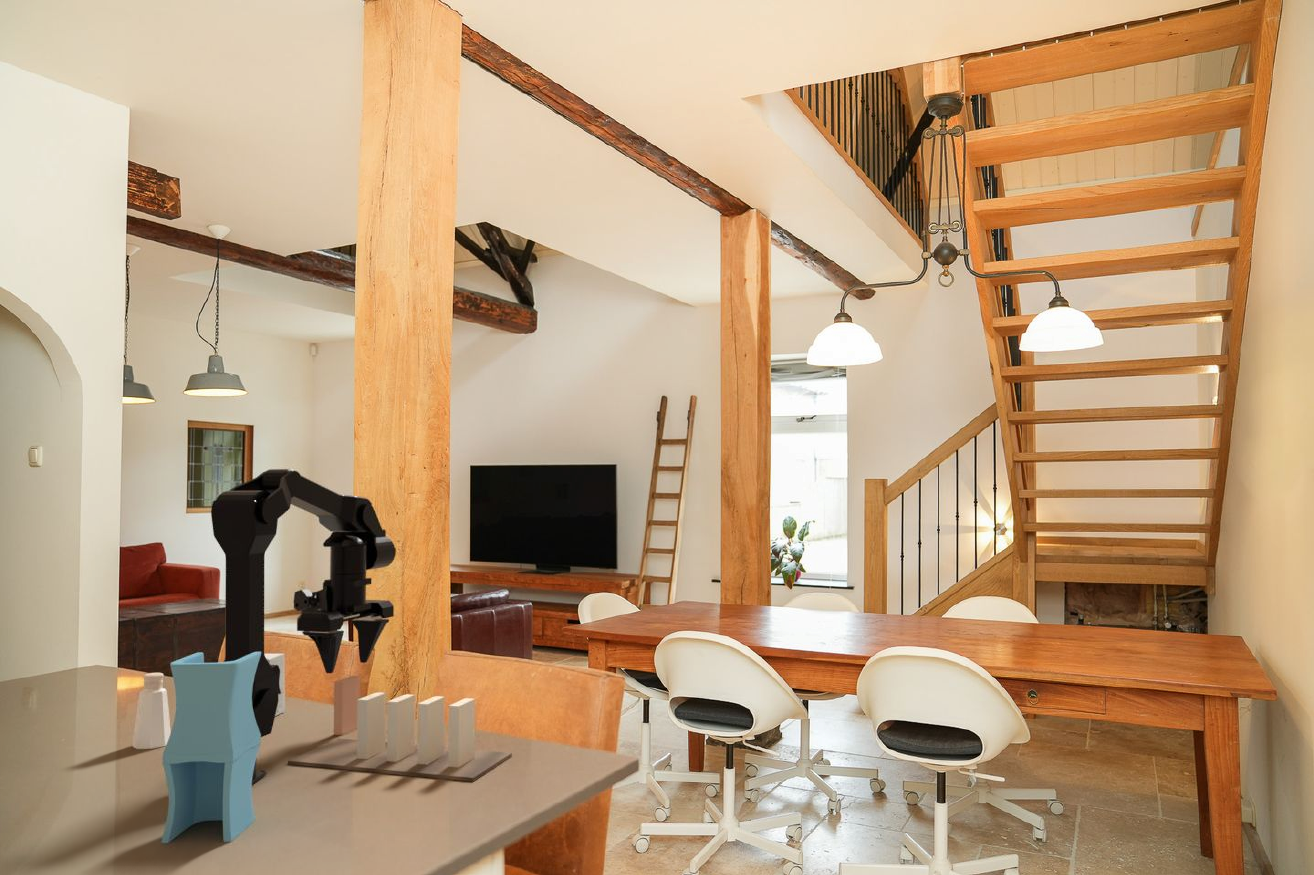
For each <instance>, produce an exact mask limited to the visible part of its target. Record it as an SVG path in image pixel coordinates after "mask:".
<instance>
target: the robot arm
mask: <svg viewBox="0 0 1314 875" xmlns="http://www.w3.org/2000/svg"><path fill="white" fill-rule="evenodd" d="M211 504H212V505H211V508H210V509H211V510H210V515H211V524H212V532H213V536H214V539H215V540H216V542H217V543H218V545H219V547H220V548H221V551H223V553H224V555H225V594H224V595H225V596H224V597H225V599H224V600H225V605H224V606H225V609H224V610H225V612H224V613H225V615H224V616H225V621H224V622H225V624H224V625H225V627H224V628H225V630H224V634H225V637H224V638H225V639H224V640H225V641H224V642H225V643H224V644H225V645H224V648H225V650H224V660H223V662H229V661H235V660H237V659H240V658H242V657H244V656H247V655H249V654H251V653H253V652H261V656H260V659H259V662H258V666H257V669H256V673H255V677H254V682H253V688H252V707H253V712H254V716H255V720H256V723H257V726H258V728H259V731H260V734H261V738H263V737H265V736H268V735H270V734H271V733H272V730H273V727H274V722H275V719H276V718H275V717H276V716H275V714H276V710H277V705H278V694H281V690H280V685H279V679H280V669H279V666H278V665H270V664H269V662H268V661H267V659H266V657H265V655H264V654H265V555H266V552H267V550H268V548H269V546H270V545H271V543H272V541H273V540H274V538H275V537H276V535H277V531H278V522H279V519H280V517H282V516H283V515H284V514H285V513H287V511H288V510H290V508H291V505H292V506H294V507H296V508H299V509H301V510H304V511H305V512H308V513H310V514H313V515H315V516H316V517H318V522H319V524H320V525H322V527H324V528H325V529H327V530H328V531H330V532H331V534H330V536H329V537H327V539H325V541H324V542H323V543H322V546H323V547H324V548H329V549H330V554H329V555H330V558H329V559H330V560H329V562H330V563H329V564H330V565H329V567H330V568H329V578H327V579H324V581H323V582H322V589H320V590H317V591H311V590H310V589H309V588H304V589H300V590H298V591H295V592H294V594H293V595H294V596H293V609H294V610H296V611H297V612H300V615H298V617H297V618H296V631H297V632H301V633H302V635H303V636H307V637H309V638H310V639H311V640H312V641H313V642H314V644H315V645H316V646H315V647H316V649H317V651H318V653H319V657H320V659H321V663H322V665H323V668H324V671H325V673H326V674H333V673H334V671H335V669H336V668H335V667H336V665H337V660H338V657H339V652H340V649H341V645H342V640H343V636H344V632H345V631H344V630H341V629H342V627H343V625H344V622H349V621H350V622H351V623H352V625H353V626H354V627H355V629H356V631H357V643H358V656H359V662H360V663H361V664H363V663H364V664H366V663H368V661H369V659H370V657H371V655H372V652H373V650H374V648H375V646H376V644H377V642H378V640H379V639H380V638H379V637H380V636H381V634H382V632H383V630H384V629H385V627H386V626H387V624H388V623H389V622H390V619H389V618H393V617H395V616H394V611H395V610H394V608H395V607H394V605H393V603H392V602H391V601H390V600H386V599H385V600H382V599H367V598H366V597H367V586H368V585H372V577H367V571H369V570H375V569H376V570H377V569H383V568H387V567H389V566H390V565H391V564H392V563H393V562H394V560H395V558H396V554H397V553H396V552H397V548H396V547H395V544H394V543H393V541H392V540H391V538H390V537H388V536H386V535H387V534H386V533H387V530H386V529H383V527H382V526H381V523H380V521H379V518H378V516H377V513H376V510H375V508H374V507H373V503H372V502H371V500H370V499H369V498H366V497H362V496H359V495H358V496H357V495H346V494H342V493H341V494H340V493H337V492H335V491H333V490H331V489H329V488H328V487H325V486H324V485H321V484H319V483H318V482H316V481H313V480H311V479H309V478H307V477H305V476H303V475H301V473H300V472H299V471H297V470H294V469H291V468H277V469H276V468H275V469H274V468H273V469H272V468H270V469H267V470H265V471H263V472H262V473H260V474H259V475H258V476H256V477H255V478H254V477H253V478H252V479H250V480H248V481H246V482H245V481H244V482H242V483H240V484H239V485H235V486H233V487H232V488H230V490H226V491H222V493H220V494H218V496H217V497H216V499H215V500H213V502H212V503H211ZM266 775H267V770H264V769H261V770H259V769H258V770H257V760H256V761H255V766H254V770H253V776H252V785H253V784H255V783H256V782H257V781H258V780H260V779H261V778H263V777H264V776H266Z"/></svg>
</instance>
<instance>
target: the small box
mask: <svg viewBox="0 0 1314 875" xmlns="http://www.w3.org/2000/svg"><path fill="white" fill-rule="evenodd" d="M264 655H265V657H266V659H267V661H268V662H269V664H270V665H278V666H279V669H280V679H279V685H280V690H281V694H278V705H277V710H276V714H275V717H277V716H280V715H281V714H283V713H285V711H286V671H285V670H286V663H285V662H286V661H285V660H286V659H285V658H286V654H285V653H264Z"/></svg>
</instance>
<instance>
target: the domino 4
mask: <svg viewBox="0 0 1314 875" xmlns="http://www.w3.org/2000/svg"><path fill="white" fill-rule="evenodd" d="M448 748H449V767H460V766H462V765H464V764H465V763H467V762H469V761H470V760H472V759H473V758H475V750H476V698H470V697H466V698H465V697H464V698H463V699H460V700H458V701H455V702H454V703H451V704H449V705H448Z"/></svg>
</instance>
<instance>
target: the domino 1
mask: <svg viewBox="0 0 1314 875" xmlns="http://www.w3.org/2000/svg"><path fill="white" fill-rule="evenodd" d="M386 709H387V693H386V692H380V691H379V692H378V691H377V692H374V693H370V694H369V695H366V696H363V697H360V699H358V721H357V729H356V730H357V731H356V732H357V734H356V735H357V737H356V738H357V739H356V740H357V758H359V759H368V758H370V757H372V756H374V755H376V754H378V753H380V752H382V751H384V750H385V742H386V740H387V712H386V711H387V710H386Z"/></svg>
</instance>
